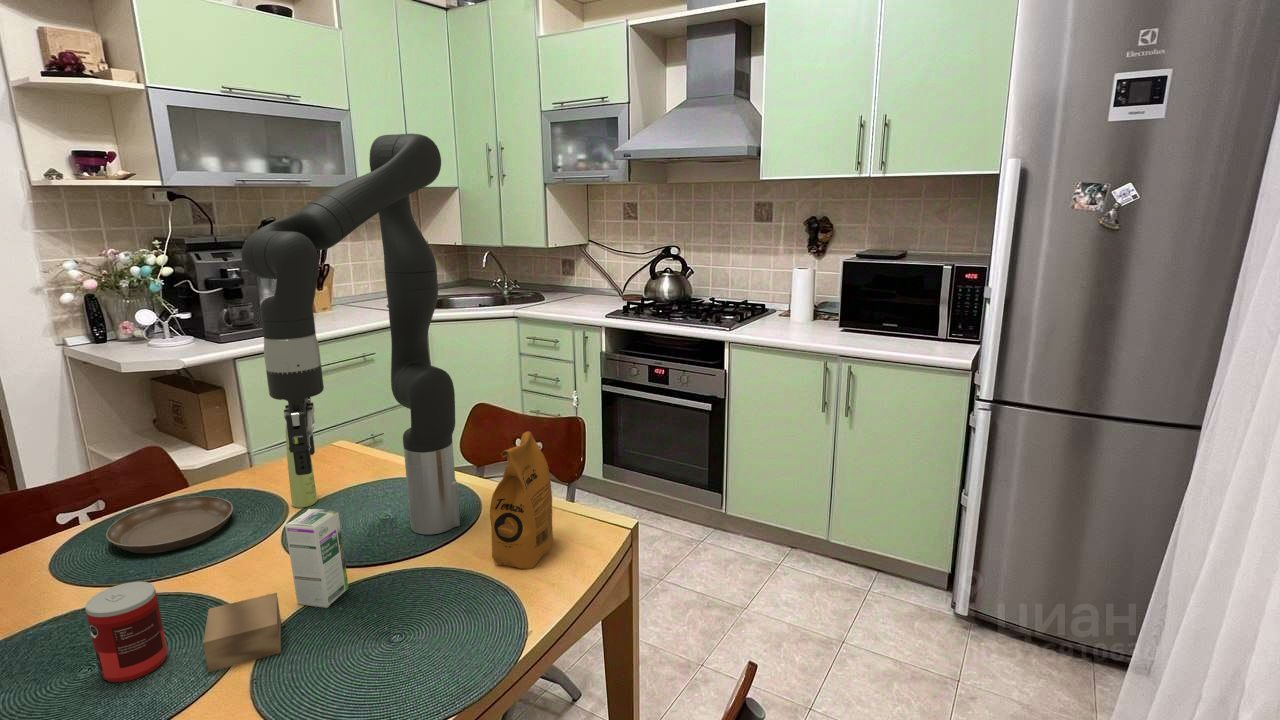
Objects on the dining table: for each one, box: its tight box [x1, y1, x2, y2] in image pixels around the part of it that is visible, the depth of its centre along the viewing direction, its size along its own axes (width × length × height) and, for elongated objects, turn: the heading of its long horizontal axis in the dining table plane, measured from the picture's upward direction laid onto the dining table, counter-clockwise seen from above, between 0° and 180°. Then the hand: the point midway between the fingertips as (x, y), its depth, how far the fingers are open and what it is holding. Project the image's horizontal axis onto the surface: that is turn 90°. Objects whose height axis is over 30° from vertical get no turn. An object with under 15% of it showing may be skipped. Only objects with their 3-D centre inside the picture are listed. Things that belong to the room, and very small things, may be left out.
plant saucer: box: [105, 496, 234, 554], centre depth 133 cm, size 21×21×3 cm
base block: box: [202, 592, 282, 673], centre depth 99 cm, size 9×9×5 cm
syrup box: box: [284, 508, 350, 609], centre depth 110 cm, size 6×6×14 cm
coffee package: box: [489, 430, 554, 570], centre depth 122 cm, size 10×12×22 cm
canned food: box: [85, 581, 168, 683], centre depth 94 cm, size 8×8×11 cm
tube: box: [285, 427, 318, 509], centre depth 143 cm, size 6×5×20 cm
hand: (306, 463), depth 106 cm, fingers open, 8 cm apart
